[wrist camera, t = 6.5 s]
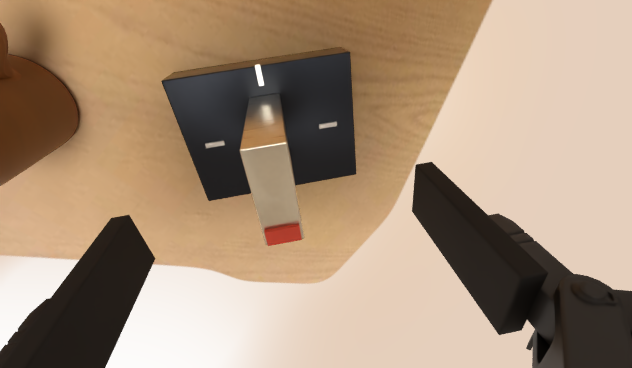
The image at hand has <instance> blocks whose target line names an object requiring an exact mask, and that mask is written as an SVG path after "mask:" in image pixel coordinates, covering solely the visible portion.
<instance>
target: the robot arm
mask: <svg viewBox="0 0 632 368" xmlns="http://www.w3.org/2000/svg"><path fill="white" fill-rule="evenodd" d="M414 182H415V183H414V195H413V207H412V212H413V213H414V215H415V216H416V217H417V219H418V220H419V222H420V223H421V225H422V226H423V227H424V229H425V230H426V232H427V233H428V234H429V236H430V237H431V239H432V240H433V242H434V243H435V244H436V246H437V247H438V249H439V250H440V251H441V253H442V254H443V256H444V257H445V259H446V260H447V262H448V263H449V264H450V266H451V267H452V269H453V270H454V272H455V273H456V274H457V276H458V277H459V279H460V280H461V282H462V283H463V284H464V286H465V287H466V288H467V290H468V291H469V293H470V294H471V296H472V297H473V299H474V300H475V301H476V303H477V304H478V306H479V307H480V308H481V310H482V311H483V313H484V314H485V316H486V317H487V318H488V320H489V321H490V323H491V324H492V325H493V327H494V328H495V330H496V331H497V333H498V334H499V335H501V334H506V333H511V332H515V331H520V330H522V328H523V326H524V324H525V322H526V320H528V321H529V322H530V323H531V325H532V326H533V327H534V328H535V331H534V333H533V335H532V337H531V339H530V341H529V343H528V345H527V349H528V350H531V348H532V347H533V363H532V366H533V368H632V291H623V290H613V289H612V288H610V287H609V286H607V285H605V284H604V283H602V282H601V281H599V280H596V279H594V278H591V277H588V276H584V275H578V274H573V273H572V272H570V271H569V270H568V269H567V268H566V267H565V266H564V265H562V264H561V263H560V262H559V261H558V260H557V259H556V258H555V257H553V256H552V255H551V254H550V253H549V252H548V251H546V250H545V249H544V248H543V247H542V246H541V245H540V244H539V243H537V242H536V241H534V240H533V238H532V237H530V236H529V235H528V234H527V233H524V230H522V229H521V228H520V227H519V226H518V225H517V224H516V223H514V222H513V221H512V220H510V219H508V218H506V217H504V216H502V215H500V214H493V215H487V214H486V213H485V212H484V211H483V210H482V209H480V207H479V206H477V205H476V204H475V203H474V202H473V201H472V200H471V199H470V198H469V197H468V196H467V195H466V194H465V193H464V192H463V191H462V190H461V189H459V187H457V186H456V185H455V184H454V183H453V182H452V181H451V180H450V179H449V178H448V177H447V176H446V175H445V174H444V173H443V172H442V171H440V169H438V168H437V167H436V166H435V165H434V164H433V163H432V162H429V163H424V164H417V165H416V169H415V181H414ZM154 260H155V257H154V256H153V254H152V252H151V251H150V249H149V247H148V246H147V244H146V242H145V241H144V239H143V237H142V236H141V234H140V232H139V231H138V229H137V227H136V226H135V224H134V222H133V221H132V219H131V217H130V216H129V215H126V216H121V217H115V218H111V219H110V221H109V222H108V223H107V225H106V226H105V227H104V229H103V230H102V231H101V232H100V234H99V235H98V236H97V238H96V239H95V240H94V242H93V243H92V244H91V246H90V247H89V248H88V250H87V251H86V252H85V254H84V255H83V256H82V258H81V259H80V260H79V261H78V263H77V264H76V265H75V267H74V268H73V270H72V271H71V272H70V274H69V275H68V276H67V277H66V279H65V280H64V281H63V283H62V284H61V285H60V287H59V288H58V289H57V291H56V292H55V293H54V295H53V296H52V297H51V298H50V299H46V300H45V301H44V302H43V303H42V304H40V305H39V306H38V307H37V308H36V309H35V310H34V311H32V312H31V313H30V314H29V315H28V317H27V318H26V319H25V321H24V322H23V323H22V324H21V326H20V327H19V328H18V332H15V333H14V334H13V336H12V337H11V338H10V340H9V341H8V344H7V345H5V346H4V347H3V348H2V350H1V351H0V368H105V367H106V364H107V362H108V360H109V358H110V356H111V354H112V351H113V349H114V347H115V345H116V343H117V341H118V338H119V336H120V334H121V332H122V330H123V327H124V325H125V323H126V321H127V319H128V317H129V315H130V312H131V310H132V308H133V305H134V304H135V301H136V299H137V297H138V295H139V293H140V291H141V288H142V286H143V284H144V282H145V280H146V278H147V275H148V273H149V271H150V269H151V267H152V264H153V262H154Z"/></svg>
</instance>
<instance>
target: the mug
mask: <svg viewBox="0 0 632 368" xmlns="http://www.w3.org/2000/svg"><path fill="white" fill-rule="evenodd" d="M7 53H8V41H7V35H6V32H5V29H4V28H3V26H2V25H1V23H0V186H1V185H3V184H4V183H6V182H8V181H9V180H11V179H12V178H14V177H15V176H17V175H18V174H20V173H21V172H23V171H24V170H26V169H27V168H29V167H30V166H32V165H33V164H35V163H36V162H38V161H39V160H41V159H42V158H44V157H45V156H46V155H48V154H49V153H51V152H52V151H54V150H55V149H57V148H58V147H60V146H61V145H63V144H64V143H65V142H67V141H68V140H69V139H70V138H71V136H72V135H73V133H74V132H75V130H76V128H77V124H78V112H77V108H76V104H75V102H74V100H73V98H72V96H71V94H70V93H69V91H68V90H67V88H66V87H65V86H64V85H63V84H62V83H61V82H60V81H59V80H58V79H57V78H56V77H55V76H54V75H53V74H51V73H50V72H49V71H47V70H46V69H44V68H43V67H41V66H39V65H37V64H35V63H34V62H31V61H29V60H27V59H24V58H21V57H18V56H13V55H9V54H7Z"/></svg>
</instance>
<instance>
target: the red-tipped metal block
mask: <svg viewBox="0 0 632 368" xmlns="http://www.w3.org/2000/svg"><path fill="white" fill-rule="evenodd" d="M240 154H241V158H242V161H243V165H244V168H245V172H246V175H247V179H248V183H249V186H250V190H251V193H252V197H253V201H254V204H255V208H256V211H257V215H258V219H259V222H260V226H261V229H262V233H263V237H264V240H265V244H266V245H268V246H271V245H276V244H281V243H287V242H292V241H297V240H302V239H303V238H304V233H303V227H302V221H301V215H300V209H299V203H298V197H297V191H296V185H295V179H294V173H293V168H292V162H291V156H290V150H289V145H288V139H287V133H286V128H285V122H284V116H283V111H282V105H281V99H280V94H272V95H266V96H259V97H252V98H249V103H248V108H247V113H246V119H245V124H244V129H243V135H242V140H241V145H240Z"/></svg>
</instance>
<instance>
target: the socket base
mask: <svg viewBox="0 0 632 368" xmlns="http://www.w3.org/2000/svg"><path fill="white" fill-rule="evenodd" d="M162 84H163V86H164V89H165V92H166V94H167V97H168V99H169V102H170V104H171V107H172V109H173V112H174V114H175V117H176V119H177V122H178V124H179V127H180V130H181V132H182V135H183V137H184V140H185V142H186V145H187V147H188V150H189V152H190V155H191V157H192V160H193V162H194V165H195V168H196V170H197V173H198V175H199V178H200V180H201V183H202V185H203V188H204V190H205V193H206V195H207V198H208V200H209V201H211V200H217V199H222V198H228V197H233V196H239V195H244V194H250V193H251V190H250V186H249V183H248V179H247V175H246V172H245V168H244V165H243V161H242V158H241V154H240V145H241V140H242V135H243V129H244V124H245V119H246V113H247V108H248V103H249V98H252V97H259V96H266V95H272V94H280V99H281V105H282V111H283V116H284V122H285V128H286V133H287V139H288V145H289V150H290V156H291V162H292V168H293V173H294V179H295V185H299V184H305V183H310V182H316V181H321V180H327V179H332V178H338V177H343V176H349V175H354V174H356V158H355V139H354V119H353V100H352V80H351V61H350V52H349V51H347V50H345V49H343V48H341V47H338V48H331V49H325V50H318V51H312V52H305V53H299V54H292V55H285V56H279V57H272V58H266V59H259V60H253V61H246V62H240V63H233V64H226V65H220V66H213V67H207V68H200V69H194V70H187V71H181V72H174V73H172V74H171V75H170V76H168V77H167V78H165V79H164V80H162Z"/></svg>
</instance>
